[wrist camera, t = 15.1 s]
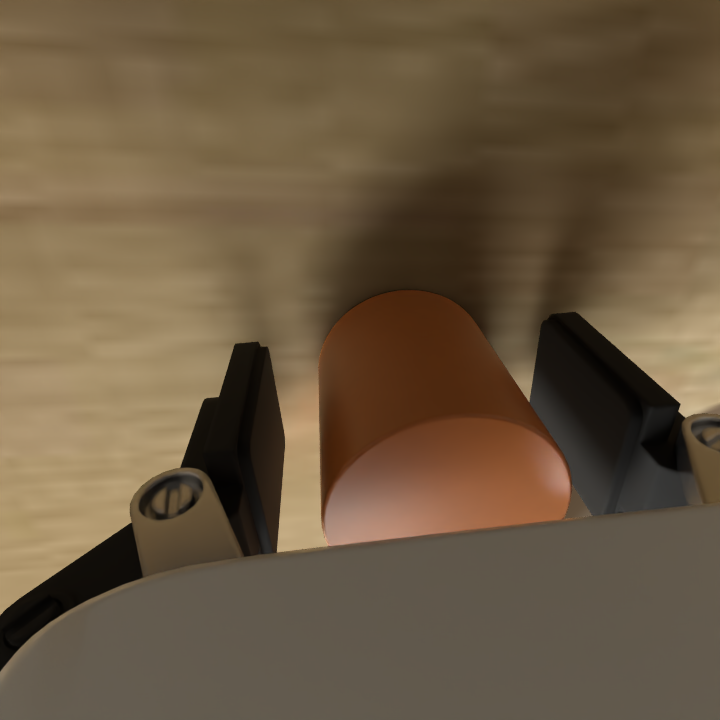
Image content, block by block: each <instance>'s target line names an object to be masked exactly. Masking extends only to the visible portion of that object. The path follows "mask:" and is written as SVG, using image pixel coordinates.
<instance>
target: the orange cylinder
mask: <svg viewBox="0 0 720 720" xmlns="http://www.w3.org/2000/svg"><path fill="white" fill-rule="evenodd" d="M318 371H319V423H320V475H321V519H322V529H323V533H324V537H325V540H326V542H327V544H328V546H335V545H344V544H352V543H361V542H369V541H378V540H386V539H395V538H403V537H412V536H420V535H428V534H437V533H446V532H455V531H463V530H472V529H481V528H490V527H499V526H507V525H516V524H525V523H534V522H543V521H552V520H561V519H564V517H565V515H566V513H567V510H568V507H569V504H570V500H571V493H572V479H571V473H570V469H569V465H568V462H567V460H566V458H565V456H564V454H563V452H562V451H561V449H560V448H559V446H558V445H557V443H556V442H555V440H554V439H553V437H552V436H551V434H550V433H549V431H548V430H547V428H546V427H545V425H544V424H543V423H542V421H541V420H540V418H539V417H538V415H537V414H536V412H535V411H534V409H533V408H532V406H531V405H530V403H529V402H528V400H527V399H526V397H525V396H524V394H523V393H522V391H521V390H520V388H519V387H518V385H517V384H516V382H515V381H514V379H513V378H512V376H511V375H510V373H509V372H508V370H507V369H506V367H505V366H504V364H503V363H502V361H501V360H500V359H499V357H498V356H497V354H496V353H495V351H494V350H493V348H492V347H491V345H490V344H489V342H488V341H487V339H486V338H485V336H484V335H483V333H482V332H481V330H480V329H479V327H478V326H477V324H476V323H475V321H474V320H473V319H472V317H471V316H470V315H469V314H468V313H467V312H466V311H465V310H464V309H463V308H462V307H460V306H459V305H458V304H456V303H455V302H453V301H451V300H450V299H448V298H446V297H443V296H441V295H438V294H435V293H431V292H426V291H418V290H400V291H393V292H388V293H384V294H380V295H377V296H375V297H372V298H370V299H367V300H365V301H364V302H362V303H360V304H358V305H357V306H355V307H354V308H352V309H351V310H350V311H348V312H347V313H346V314H345V315H344V316H343V317H342V318H341V319H340V320H339V321H338V322H337V323H336V324H335V325H334V327H333V328H332V329H331V331H330V333H329V334H328V336H327V338H326V339H325V342H324V344H323V347H322V350H321V353H320V357H319V366H318Z"/></svg>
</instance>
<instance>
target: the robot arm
mask: <svg viewBox="0 0 720 720" xmlns="http://www.w3.org/2000/svg"><path fill="white" fill-rule="evenodd" d="M529 403H530V405H531V406H532V408H533V409H534V411H535V412H536V414H537V415H538V417H539V418H540V420H541V421H542V423H543V424H544V425H545V427H546V428H547V430H548V431H549V433H550V434H551V436H552V437H553V439H554V440H555V442H556V443H557V445H558V446H559V448H560V449H561V451H562V452H563V454H564V456H565V458H566V460H567V462H568V465H569V469H570V473H571V479H572V484H573V486H574V487H575V489H576V491H577V492H578V494H579V495H580V497H581V498H582V500H583V502H584V503H585V505H586V506H587V508H588V509H589V510H590V512H591V514H592V515H593V516H589V517H579V518H570V519H561V520H552V521H543V522H534V523H525V524H516V525H507V526H499V527H490V528H481V529H472V530H463V531H455V532H446V533H437V534H428V535H420V536H412V537H403V538H395V539H386V540H378V541H369V542H361V543H352V544H344V545H335V546H327V547H319V548H310V549H302V550H294V551H286V552H278V553H277V541H278V528H279V515H280V503H281V490H282V477H283V464H284V451H285V436H284V429H283V424H282V418H281V413H280V407H279V402H278V397H277V391H276V386H275V380H274V375H273V370H272V364H271V359H270V353H269V349H268V347H260V344H259V342H249V343H239V344H235V346H234V349H233V352H232V355H231V359H230V362H229V365H228V369H227V372H226V376H225V379H224V382H223V386H222V389H221V392H220V396H219V397H215V398H206V399H205V400H204V401H203V403H202V406H201V409H200V412H199V415H198V418H197V421H196V424H195V427H194V430H193V432H192V435H191V438H190V441H189V444H188V447H187V450H186V453H185V456H184V459H183V461H182V464H181V467H180V468H176V469H172V470H169V471H166V472H163V473H161V474H159V475H157V476H155V477H153V478H151V479H150V480H149V481H147V482H146V483H145V484H143V485H142V486H141V487H140V488H139V490H138V491H137V492H136V493H135V494H134V496H133V499H132V501H131V503H130V516H131V521H132V523H130V524H129V525H127V526H126V527H124V528H123V529H121V530H120V531H118V532H117V533H115V534H114V535H112V536H111V537H109V538H108V539H107V540H105V541H104V542H102V543H101V544H99V545H98V546H96V547H95V548H93V549H92V550H90V551H89V552H87V553H86V554H84V555H83V556H81V557H80V558H79V559H77V560H76V561H74V562H73V563H71V564H70V565H68V566H67V567H65V568H64V569H62V570H61V571H59V572H58V573H56V574H55V575H53V576H52V577H51V578H49V579H48V580H46V581H45V582H43V583H42V584H40V585H39V586H37V587H36V588H34V589H33V590H31V591H30V592H28V593H27V594H25V595H24V596H23V597H21V598H20V599H18V600H17V601H16V602H15V603H13V604H12V605H11V606H10V607H8V608H7V609H6V610H5V611H4V612H3V613H2V614H1V615H0V720H720V415H718V414H707V413H702V414H694V415H691V416H689V417H687V418H685V417H684V416H683V415H681V414H680V413H679V412H678V410H679V407H680V403H679V402H678V401H676V400H675V399H674V398H673V397H672V396H671V395H670V394H669V393H667V392H666V391H665V390H664V389H663V388H662V387H661V386H659V385H658V384H657V383H656V382H655V381H654V380H653V379H652V378H650V377H649V376H648V375H647V374H646V373H645V372H644V371H642V370H641V369H640V368H639V367H638V366H637V365H636V364H634V363H633V362H632V361H631V360H630V359H629V358H628V357H627V356H625V355H624V354H623V353H622V352H621V351H620V350H619V349H617V348H616V347H615V346H614V345H613V344H612V343H611V342H610V341H608V340H607V339H606V338H605V337H604V336H603V335H602V334H600V333H599V332H598V331H597V330H596V329H595V328H594V327H593V326H591V325H590V324H589V323H588V322H587V321H586V320H585V319H583V318H582V317H581V316H580V315H579V314H578V313H576V312H567V313H557V314H551V315H550V316H549V318H548V320H544V321H543V322H542V324H541V329H540V336H539V342H538V349H537V356H536V362H535V369H534V375H533V382H532V389H531V395H530V402H529Z"/></svg>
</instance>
